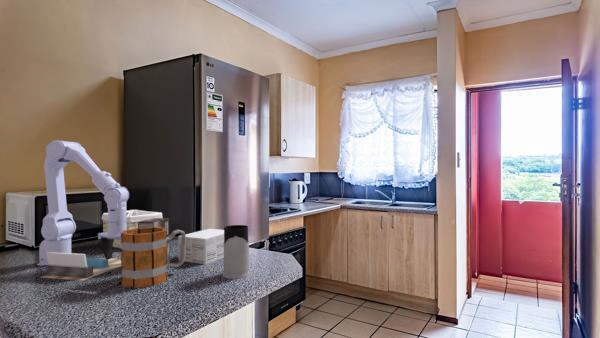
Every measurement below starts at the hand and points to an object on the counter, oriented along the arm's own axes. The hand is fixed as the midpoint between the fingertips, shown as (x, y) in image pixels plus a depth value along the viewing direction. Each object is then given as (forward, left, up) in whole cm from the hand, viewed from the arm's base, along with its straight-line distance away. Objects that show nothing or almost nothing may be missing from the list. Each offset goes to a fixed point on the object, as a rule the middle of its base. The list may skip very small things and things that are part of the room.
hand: (117, 259), depth 124 cm
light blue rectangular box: (-4, -7, -1) cm, 7 cm away
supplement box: (+26, +15, -2) cm, 31 cm away
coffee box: (+14, 0, -2) cm, 15 cm away
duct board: (-4, -8, -2) cm, 8 cm away
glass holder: (+45, -1, -2) cm, 46 cm away
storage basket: (-17, +28, -2) cm, 33 cm away
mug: (+23, -12, -2) cm, 26 cm away
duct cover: (-3, -17, +4) cm, 18 cm away
